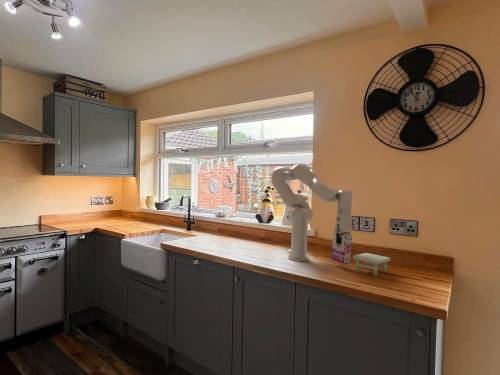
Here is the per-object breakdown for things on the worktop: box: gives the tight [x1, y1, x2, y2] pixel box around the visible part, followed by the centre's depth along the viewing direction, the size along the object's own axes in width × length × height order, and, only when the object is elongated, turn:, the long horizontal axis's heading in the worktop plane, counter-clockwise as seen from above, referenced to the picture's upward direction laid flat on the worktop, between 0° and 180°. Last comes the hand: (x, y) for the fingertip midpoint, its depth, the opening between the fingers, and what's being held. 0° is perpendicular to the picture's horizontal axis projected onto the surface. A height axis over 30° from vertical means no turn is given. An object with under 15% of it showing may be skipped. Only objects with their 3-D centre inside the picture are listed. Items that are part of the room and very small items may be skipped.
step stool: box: [352, 252, 391, 277], centre depth 162 cm, size 14×14×8 cm
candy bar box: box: [331, 231, 353, 265], centre depth 169 cm, size 11×5×16 cm, turn 21°
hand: (342, 243), depth 169 cm, fingers closed on candy bar box, 6 cm apart
